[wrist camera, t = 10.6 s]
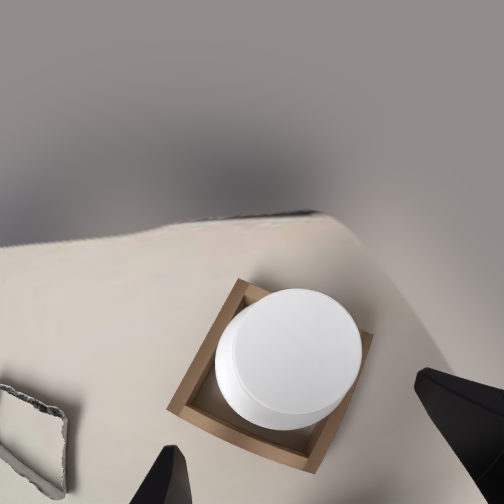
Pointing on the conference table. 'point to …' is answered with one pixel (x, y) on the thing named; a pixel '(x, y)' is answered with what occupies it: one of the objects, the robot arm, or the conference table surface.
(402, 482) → the conference table surface
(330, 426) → the brown wooden square frame
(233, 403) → the supplement bottle
